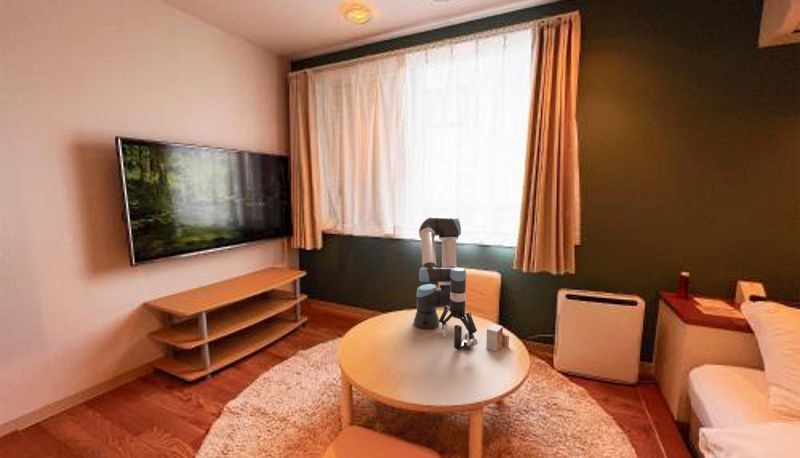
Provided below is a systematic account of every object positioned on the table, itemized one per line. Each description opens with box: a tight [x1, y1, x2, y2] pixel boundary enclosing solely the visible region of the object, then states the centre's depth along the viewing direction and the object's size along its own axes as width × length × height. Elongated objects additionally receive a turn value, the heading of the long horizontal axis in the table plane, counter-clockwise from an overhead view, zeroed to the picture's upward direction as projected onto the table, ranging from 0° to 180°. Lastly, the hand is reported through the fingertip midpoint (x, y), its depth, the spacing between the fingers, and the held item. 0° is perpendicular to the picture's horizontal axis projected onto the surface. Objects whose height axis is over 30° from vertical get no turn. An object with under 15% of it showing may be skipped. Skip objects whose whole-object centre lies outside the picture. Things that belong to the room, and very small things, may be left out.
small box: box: [485, 323, 504, 352], centre depth 167 cm, size 8×6×10 cm
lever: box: [453, 324, 475, 351], centre depth 168 cm, size 17×7×12 cm, turn 142°
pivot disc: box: [462, 336, 478, 345], centre depth 174 cm, size 8×8×1 cm
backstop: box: [502, 332, 510, 348], centre depth 171 cm, size 8×2×6 cm, turn 34°
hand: (456, 340), depth 163 cm, fingers open, 13 cm apart
